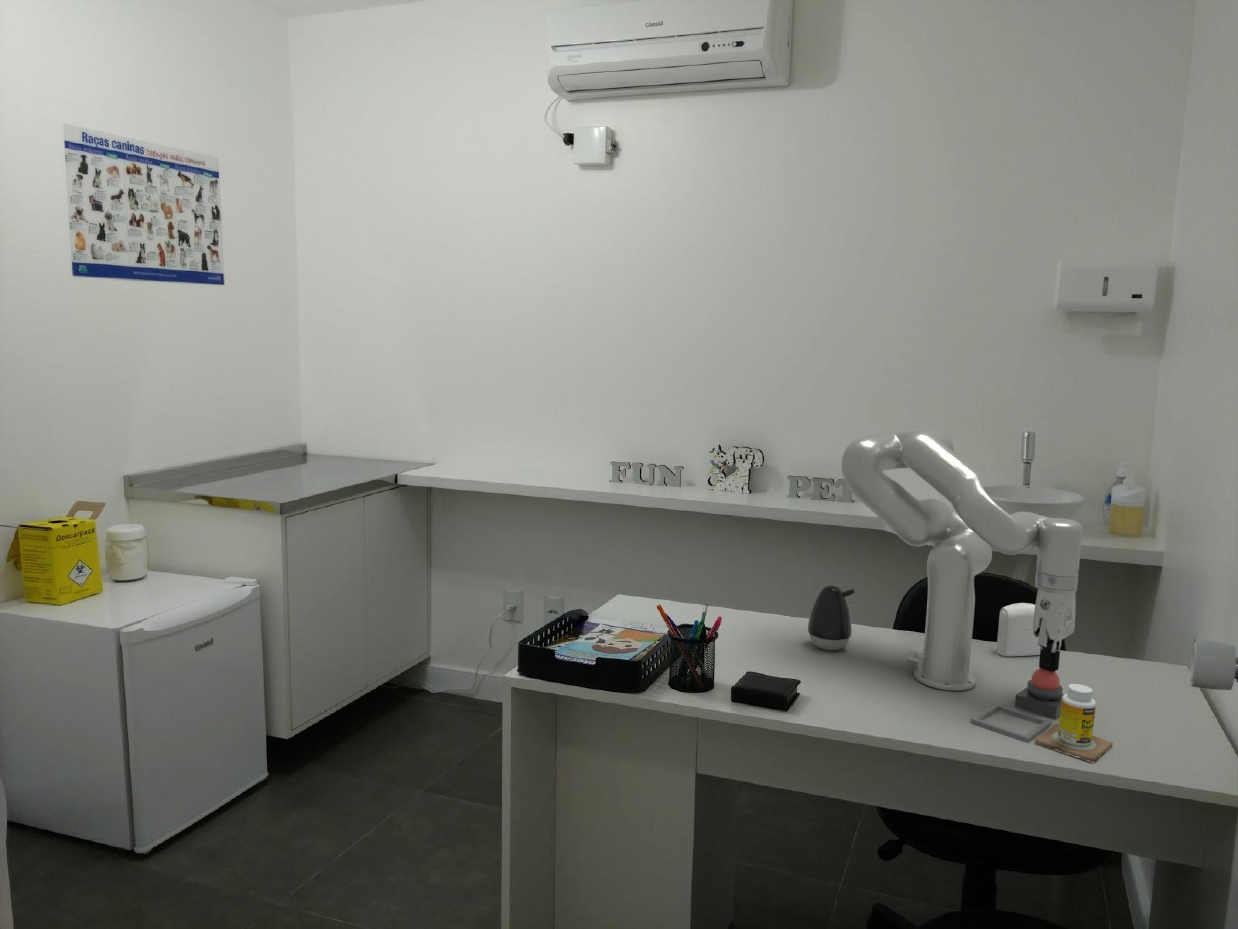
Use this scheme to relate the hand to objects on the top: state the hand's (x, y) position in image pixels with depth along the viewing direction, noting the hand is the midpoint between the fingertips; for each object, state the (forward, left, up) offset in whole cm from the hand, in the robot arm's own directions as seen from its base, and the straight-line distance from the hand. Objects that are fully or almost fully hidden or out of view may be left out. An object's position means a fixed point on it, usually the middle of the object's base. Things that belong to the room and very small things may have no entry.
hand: (1048, 669), depth 178 cm
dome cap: (0, 0, -8) cm, 8 cm away
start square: (-1, -13, -8) cm, 15 cm away
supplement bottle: (+10, -13, -8) cm, 18 cm away
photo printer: (-16, +27, -9) cm, 33 cm away
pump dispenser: (-48, -4, -9) cm, 49 cm away
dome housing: (0, 0, -8) cm, 8 cm away
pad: (+10, -13, -8) cm, 18 cm away
